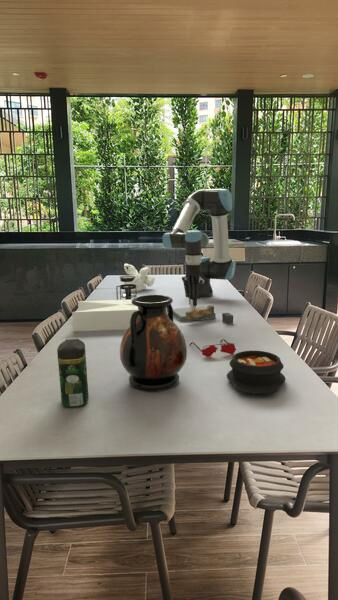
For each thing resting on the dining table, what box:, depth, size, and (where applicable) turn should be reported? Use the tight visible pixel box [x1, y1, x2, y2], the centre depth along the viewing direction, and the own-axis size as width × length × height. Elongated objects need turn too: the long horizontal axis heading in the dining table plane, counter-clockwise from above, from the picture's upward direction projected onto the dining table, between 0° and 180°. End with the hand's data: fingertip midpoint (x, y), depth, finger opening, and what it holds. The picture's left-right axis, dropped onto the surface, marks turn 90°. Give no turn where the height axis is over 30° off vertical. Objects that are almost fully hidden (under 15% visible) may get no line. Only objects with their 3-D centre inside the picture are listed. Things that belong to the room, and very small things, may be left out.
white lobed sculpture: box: [123, 263, 156, 293], centre depth 290 cm, size 19×20×20 cm
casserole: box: [226, 350, 287, 395], centre depth 142 cm, size 25×19×8 cm
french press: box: [115, 264, 138, 300], centre depth 242 cm, size 12×9×23 cm
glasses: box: [188, 338, 237, 358], centre depth 174 cm, size 14×16×5 cm
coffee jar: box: [56, 338, 89, 409], centre depth 129 cm, size 10×8×19 cm
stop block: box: [221, 312, 234, 325], centre depth 211 cm, size 3×6×4 cm, turn 17°
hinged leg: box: [186, 305, 215, 319], centre depth 214 cm, size 18×4×3 cm, turn 133°
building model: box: [71, 298, 168, 332], centre depth 213 cm, size 45×22×10 cm, turn 95°
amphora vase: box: [119, 294, 188, 392], centre depth 141 cm, size 22×22×28 cm
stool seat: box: [173, 305, 217, 322], centre depth 223 cm, size 18×16×2 cm
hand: (193, 312), depth 213 cm, fingers closed
